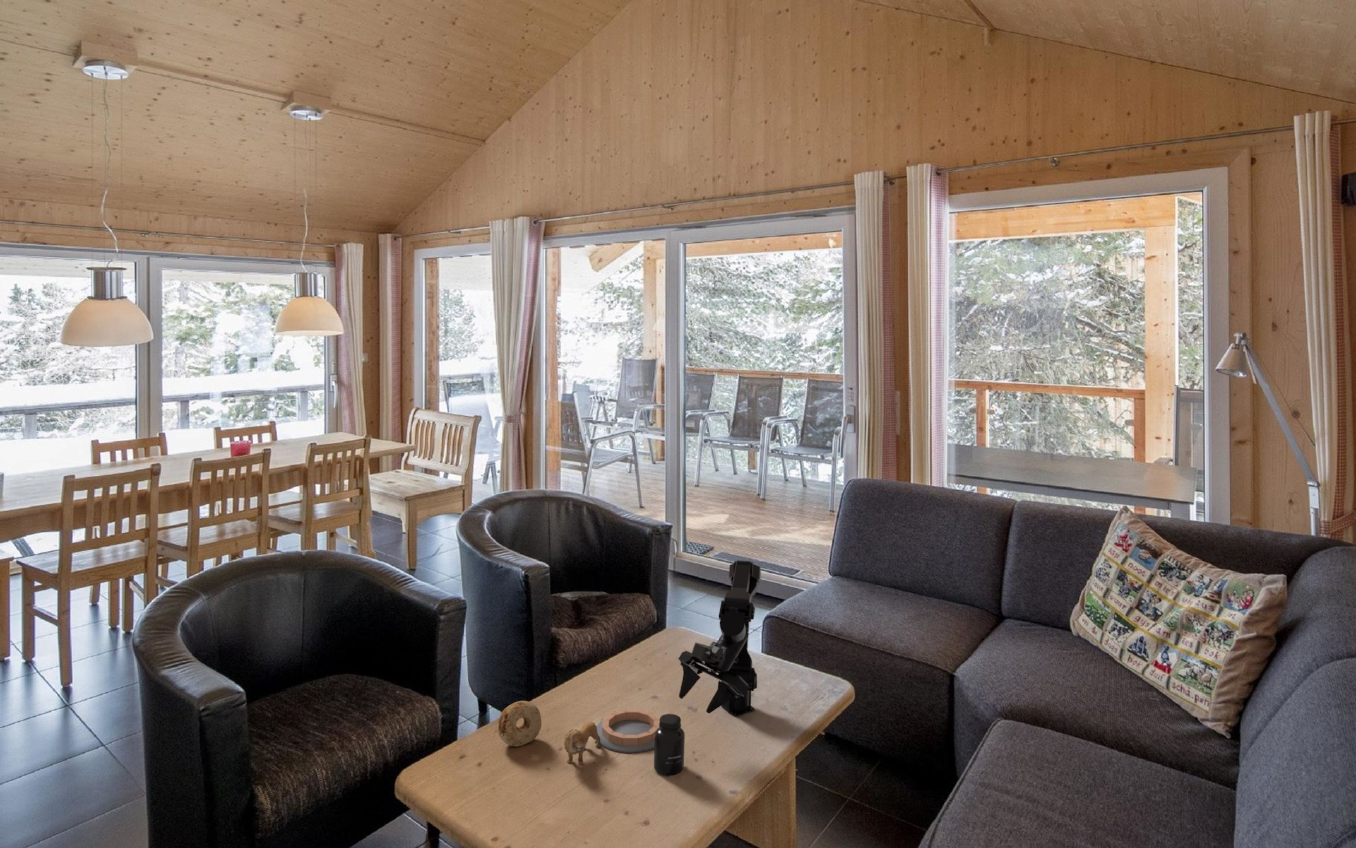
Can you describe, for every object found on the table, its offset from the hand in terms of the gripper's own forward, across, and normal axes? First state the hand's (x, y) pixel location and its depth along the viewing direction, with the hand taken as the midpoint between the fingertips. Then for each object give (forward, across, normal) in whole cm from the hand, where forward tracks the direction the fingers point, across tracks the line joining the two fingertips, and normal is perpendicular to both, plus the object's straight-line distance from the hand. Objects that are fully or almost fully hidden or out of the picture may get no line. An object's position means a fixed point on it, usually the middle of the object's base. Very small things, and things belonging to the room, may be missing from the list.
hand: (693, 705), depth 184 cm
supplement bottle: (+14, 0, +4) cm, 15 cm away
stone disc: (+28, -31, -10) cm, 43 cm away
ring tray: (+12, -18, +6) cm, 22 cm away
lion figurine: (+23, -17, -4) cm, 29 cm away
